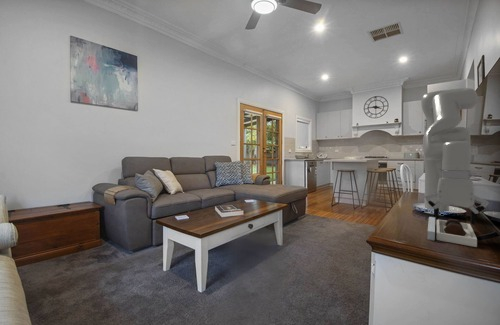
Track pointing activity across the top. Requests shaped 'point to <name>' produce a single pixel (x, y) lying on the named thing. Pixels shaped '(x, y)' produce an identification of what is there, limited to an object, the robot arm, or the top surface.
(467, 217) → the top surface
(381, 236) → the top surface
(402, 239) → the top surface
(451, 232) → the dark brown dumbbell
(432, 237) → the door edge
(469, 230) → the tray
